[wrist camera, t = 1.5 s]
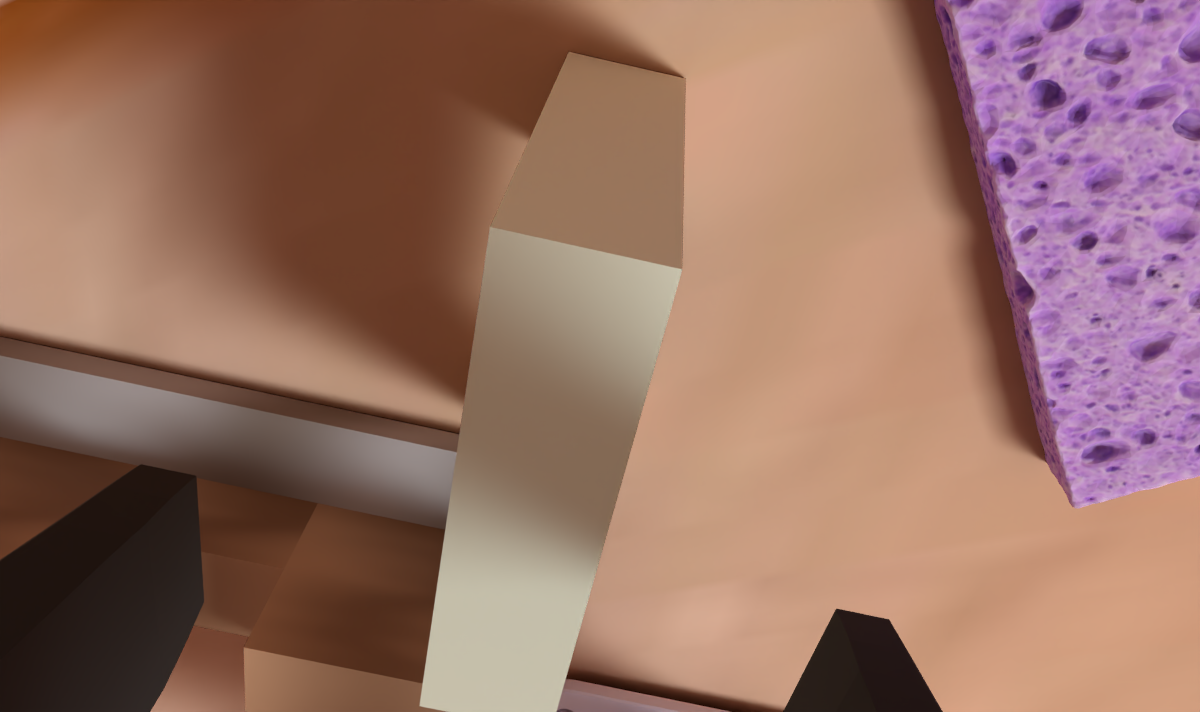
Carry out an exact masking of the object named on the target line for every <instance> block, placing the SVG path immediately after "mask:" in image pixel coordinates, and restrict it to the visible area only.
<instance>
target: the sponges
mask: <svg viewBox="0 0 1200 712" xmlns="http://www.w3.org/2000/svg"><path fill="white" fill-rule="evenodd" d="M934 5H935V10H936V17H937V20H938V22H939V25H940V28H941V32H942V35H943V40H944V44H945V46H946V49H947V52H948V55H949V64H950V68H951V71H952V75H953V79H954V82H955V85H956V87H957V92H958V98H959V101H960V103H961V106H962V114H963V119H964V122H965V125H966V127H967V130H968V132H969V139H970V147H971V153H972V156H973V159H974V162H975V165H976V169H977V174H978V179H979V182H980V186H981V190H982V194H983V198H984V202H985V205H986V210H987V216H988V220H989V224H990V227H991V230H992V234H993V239H994V244H995V248H996V252H997V256H998V260H999V264H1000V268H1001V270H1002V274H1003V282H1004V287H1005V292H1006V294H1007V296H1008V299H1009V302H1010V305H1011V309H1012V315H1013V319H1014V323H1015V333H1016V338H1017V342H1018V346H1019V350H1020V355H1021V359H1022V363H1023V367H1024V372H1025V376H1026V379H1027V383H1028V390H1029V394H1030V397H1031V404H1032V408H1033V411H1034V415H1035V419H1036V425H1037V429H1038V432H1039V435H1040V439H1041V442H1042V445H1043V447H1044V451H1045V459H1046V462H1047V464H1048V465H1049V468H1050V470H1051V471H1052V473H1053V474H1054V475H1055V477H1056V478H1057V479H1058V482H1059V484H1060V485H1061V486H1062V488H1063V490H1064V491H1065V493H1066V495H1067V497H1068V500H1069V502H1070V504H1071V505H1072V506H1073V507H1074V508H1081V507H1084V506H1087V505H1090V504H1093V503H1100V502H1104V501H1107V500H1110V499H1114V498H1118V497H1121V496H1125V495H1128V494H1131V493H1133V492H1136V491H1140V490H1148V489H1153V488H1158V487H1161V486H1164V485H1166V484H1169V483H1173V482H1176V481H1180V480H1186V479H1190V478H1195V477H1198V476H1200V0H934Z"/></svg>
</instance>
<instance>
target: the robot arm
mask: <svg viewBox="0 0 1200 712" xmlns="http://www.w3.org/2000/svg"><path fill="white" fill-rule="evenodd" d="M203 603H204V589H203V573H202V557H201V541H200V525H199V509H198V493H197V477H196V475H191V474H186V473H181V472H176V471H172V470H167V469H162V468H157V467H152V466H148V465H143V464H140V465H139V466H137V467H135V468H134V469H132V470H131V471H129V472H128V473H126V474H125V475H123V476H122V477H120V478H119V479H117V480H116V481H114V482H113V483H111V484H110V485H108V486H107V487H105V488H104V489H102V490H101V491H100V492H98V493H97V494H95V495H94V496H92V497H91V498H89V499H88V500H87V501H85V502H84V503H82V504H81V505H79V506H78V507H76V508H75V509H74V510H72V511H71V512H69V513H68V514H66V515H65V516H63V517H62V518H61V519H59V520H58V521H56V522H55V523H53V524H52V525H50V526H49V527H47V528H46V529H44V530H43V531H42V532H40V533H39V534H37V535H36V536H34V537H33V538H31V539H30V540H28V541H27V542H25V543H24V544H22V545H21V546H20V547H18V548H17V549H15V550H14V551H12V552H11V553H9V554H8V555H6V556H5V557H3V558H2V559H0V712H150V711H151V709H152V708H153V706H154V704H155V703H156V701H157V699H158V698H159V696H160V694H161V692H162V691H163V689H164V687H165V685H166V683H167V681H168V679H169V677H170V675H171V673H172V671H173V669H174V667H175V664H176V662H177V660H178V658H179V656H180V654H181V652H182V650H183V648H184V646H185V643H186V641H187V639H188V637H189V634H190V632H191V630H192V628H193V626H194V623H195V621H196V619H197V617H198V615H199V612H200V610H201V608H202V606H203ZM556 712H731V711H726V710H721V709H716V708H711V707H706V706H701V705H696V704H691V703H686V702H681V701H676V700H672V699H667V698H662V697H657V696H652V695H647V694H642V693H637V692H632V691H627V690H622V689H618V688H613V687H608V686H603V685H598V684H593V683H588V682H583V681H578V680H573V679H566V680H565V683H564V687H563V690H562V694H561V697H560V701H559V704H558V708H557V711H556ZM783 712H943V711H942V710H941V708H940V706H939V705H938V703H937V701H936V699H935V698H934V696H933V694H932V693H931V691H930V689H929V687H928V686H927V684H926V682H925V680H924V679H923V677H922V675H921V673H920V672H919V670H918V668H917V667H916V665H915V663H914V661H913V660H912V658H911V656H910V654H909V653H908V651H907V649H906V648H905V646H904V644H903V642H902V641H901V639H900V637H899V636H898V634H897V632H896V631H895V629H894V627H893V625H892V624H891V622H890V620H889V619H884V618H879V617H874V616H869V615H864V614H860V613H855V612H850V611H845V610H840V609H836V610H835V612H834V614H833V616H832V618H831V620H830V622H829V624H828V626H827V628H826V630H825V632H824V634H823V636H822V637H821V639H820V641H819V643H818V645H817V647H816V649H815V651H814V653H813V655H812V657H811V659H810V661H809V663H808V665H807V667H806V669H805V671H804V672H803V674H802V676H801V678H800V680H799V682H798V684H797V686H796V688H795V690H794V692H793V694H792V696H791V698H790V700H789V702H788V704H787V706H786V707H785V709H784V711H783Z"/></svg>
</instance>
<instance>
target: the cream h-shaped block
mask: <svg viewBox="0 0 1200 712" xmlns="http://www.w3.org/2000/svg"><path fill="white" fill-rule="evenodd" d="M685 92H686V78H681V77H677V76H673V75H668V74H664V73H659V72H655V71H651V70H646V69H642V68H638V67H633V66H629V65H625V64H620V63H616V62H612V61H607V60H603V59H599V58H594V57H590V56H585V55H581V54H577V53H572V52H568V55H567V57H566V59H565V61H564V63H563V66H562V68H561V70H560V72H559V75H558V77H557V79H556V81H555V83H554V86H553V88H552V90H551V92H550V95H549V97H548V99H547V101H546V103H545V106H544V108H543V110H542V112H541V115H540V117H539V119H538V121H537V123H536V126H535V128H534V130H533V132H532V135H531V137H530V139H529V141H528V143H527V146H526V148H525V150H524V152H523V155H522V157H521V159H520V161H519V163H518V166H517V168H516V170H515V172H514V175H513V177H512V179H511V181H510V183H509V186H508V188H507V190H506V192H505V195H504V197H503V199H502V201H501V203H500V206H499V208H498V210H497V212H496V214H495V217H494V219H493V221H492V223H491V226H490V230H489V237H488V243H487V250H486V257H485V264H484V271H483V277H482V284H481V291H480V298H479V305H478V311H477V318H476V325H475V332H474V339H473V345H472V352H471V359H470V366H469V372H468V379H467V386H466V393H465V400H464V406H463V413H462V420H461V427H460V434H459V440H458V447H457V454H456V461H455V468H454V474H453V481H452V488H451V495H450V502H449V508H448V515H447V522H446V529H445V535H444V542H443V549H442V556H441V563H440V569H439V576H438V583H437V590H436V597H435V603H434V610H433V617H432V624H431V631H430V637H429V644H428V651H427V658H426V665H425V671H424V678H423V685H422V692H421V698H420V705H419V706H422V707H426V708H431V709H436V710H441V711H446V712H556V711H557V708H558V704H559V701H560V697H561V694H562V690H563V687H564V683H565V680H566V676H567V673H568V669H569V666H570V662H571V659H572V655H573V652H574V648H575V645H576V641H577V637H578V634H579V630H580V627H581V623H582V620H583V616H584V613H585V609H586V606H587V602H588V599H589V595H590V592H591V588H592V585H593V581H594V578H595V574H596V571H597V567H598V564H599V560H600V557H601V553H602V550H603V546H604V543H605V539H606V536H607V532H608V529H609V525H610V522H611V518H612V515H613V511H614V508H615V504H616V501H617V497H618V493H619V490H620V486H621V483H622V479H623V476H624V472H625V469H626V465H627V462H628V458H629V455H630V451H631V448H632V444H633V441H634V437H635V434H636V430H637V427H638V423H639V420H640V416H641V413H642V409H643V406H644V402H645V399H646V395H647V392H648V388H649V385H650V381H651V378H652V374H653V371H654V367H655V364H656V360H657V357H658V353H659V350H660V346H661V342H662V339H663V335H664V332H665V328H666V325H667V321H668V318H669V314H670V311H671V307H672V304H673V300H674V297H675V293H676V290H677V286H678V283H679V279H680V276H681V272H682V258H683V202H684V147H685Z"/></svg>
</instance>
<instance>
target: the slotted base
mask: <svg viewBox="0 0 1200 712" xmlns="http://www.w3.org/2000/svg"><path fill="white" fill-rule="evenodd" d="M458 440H459V434H456V433H451V432H446V431H442V430H437V429H432V428H427V427H423V426H418V425H413V424H409V423H404V422H399V421H395V420H390V419H385V418H380V417H376V416H371V415H366V414H362V413H357V412H352V411H348V410H343V409H338V408H333V407H329V406H324V405H319V404H315V403H310V402H305V401H301V400H296V399H291V398H286V397H282V396H277V395H272V394H268V393H263V392H258V391H254V390H249V389H244V388H239V387H235V386H230V385H225V384H221V383H216V382H211V381H207V380H202V379H197V378H192V377H188V376H183V375H178V374H174V373H169V372H164V371H160V370H155V369H150V368H145V367H141V366H136V365H131V364H127V363H122V362H117V361H113V360H108V359H103V358H98V357H94V356H89V355H84V354H80V353H75V352H70V351H66V350H61V349H56V348H51V347H47V346H42V345H37V344H33V343H28V342H23V341H19V340H14V339H9V338H4V337H0V559H2V558H3V557H5V556H6V555H8V554H9V553H11V552H12V551H14V550H15V549H17V548H18V547H20V546H21V545H22V544H24V543H25V542H27V541H28V540H30V539H31V538H33V537H34V536H36V535H37V534H39V533H40V532H42V531H43V530H44V529H46V528H47V527H49V526H50V525H52V524H53V523H55V522H56V521H58V520H59V519H61V518H62V517H63V516H65V515H66V514H68V513H69V512H71V511H72V510H74V509H75V508H76V507H78V506H79V505H81V504H82V503H84V502H85V501H87V500H88V499H89V498H91V497H92V496H94V495H95V494H97V493H98V492H100V491H101V490H102V489H104V488H105V487H107V486H108V485H110V484H111V483H113V482H114V481H116V480H117V479H119V478H120V477H122V476H123V475H125V474H126V473H128V472H129V471H131V470H132V469H134V468H135V467H137V466H139V465H140V464H143V465H148V466H152V467H157V468H162V469H167V470H172V471H176V472H181V473H186V474H191V475H196V477H197V493H198V509H199V525H200V541H201V557H202V573H203V589H204V603H203V606H202V608H201V610H200V612H199V615H198V617H197V619H196V621H195V623H194V626H197V627H202V628H207V629H212V630H217V631H222V632H227V633H232V634H237V635H242V636H247V637H249V638H248V640H247V642H246V644H245V646H244V684H245V712H446V711H441V710H436V709H431V708H426V707H422V706H419V705H420V698H421V692H422V685H423V678H424V671H425V665H426V658H427V651H428V644H429V637H430V631H431V624H432V617H433V610H434V603H435V597H436V590H437V583H438V576H439V569H440V563H441V556H442V549H443V542H444V535H445V529H446V522H447V515H448V508H449V502H450V495H451V488H452V481H453V474H454V468H455V461H456V454H457V447H458Z"/></svg>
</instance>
